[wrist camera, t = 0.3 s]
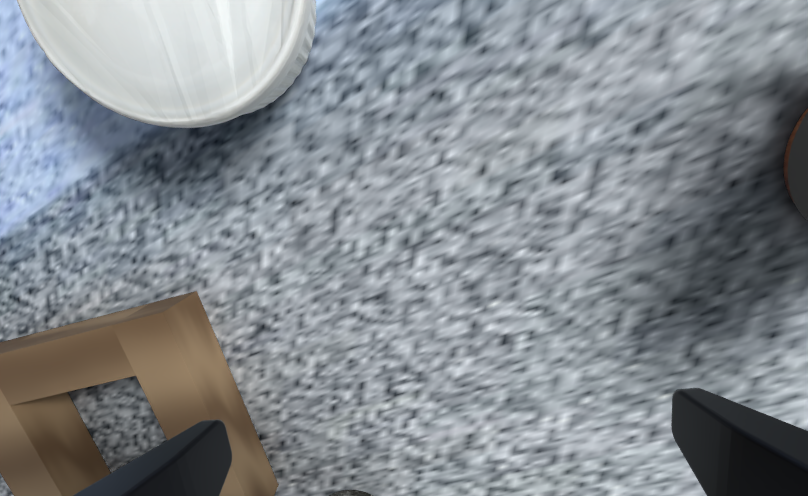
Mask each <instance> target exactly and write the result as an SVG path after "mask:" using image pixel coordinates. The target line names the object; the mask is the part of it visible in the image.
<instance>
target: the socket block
mask: <svg viewBox="0 0 808 496" xmlns="http://www.w3.org/2000/svg"><path fill="white" fill-rule="evenodd" d="M132 376H136V377H137V379H138V381H139V383H140V385H141V387H142V389H143V391H144V393H145V395H146V397H147V399H148V401H149V403H150V405H151V408H152V410H153V412H154V414H155V416H156V418H157V420H158V422H159V424H160V426H161V428H162V430H163V432H164V434H165V436H166V438H167V440H169V439H171V438H173V437H174V436H176V435H178V434H180V433H181V432H183V431H185V430H186V429H188V428H190V427H192V426H193V425H195V424H197V423H198V422H200V421H203V420H217V419H219V420H222V421H223V422H224V424H225V426H226V430H227V434H228V438H229V442H230V446H231V450H232V463H231V466H230V469H229V472H228V474H227V477H226V480H225V482H224V485H223V487H222V490H221V493H220V495H219V496H274V494H275V492H276V490H277V487H278V483H277V480H276V478H275V476H274V473H273V471H272V468H271V466H270V464H269V461H268V459H267V457H266V454H265V452H264V450H263V447H262V445H261V442H260V440H259V438H258V435H257V433H256V431H255V428H254V426H253V424H252V421H251V419H250V416H249V414H248V412H247V409H246V407H245V405H244V402H243V400H242V398H241V395H240V393H239V390H238V388H237V386H236V383H235V381H234V379H233V376H232V374H231V372H230V369H229V367H228V364H227V362H226V360H225V357H224V355H223V353H222V350H221V348H220V346H219V343H218V341H217V338H216V336H215V334H214V331H213V329H212V327H211V324H210V322H209V320H208V317H207V315H206V312H205V310H204V308H203V305H202V303H201V301H200V298H199V296H198V294H197V291H196V292H192V293H188V294H184V295H180V296H176V297H173V298H169V299H165V300H161V301H157V302H154V303H150V304H146V305H142V306H138V307H134V308H131V309H127V310H123V311H119V312H115V313H111V314H108V315H104V316H100V317H96V318H92V319H88V320H85V321H81V322H77V323H73V324H69V325H65V326H62V327H58V328H54V329H50V330H46V331H43V332H39V333H35V334H31V335H27V336H23V337H20V338H16V339H12V340H8V341H4V342H0V473H1V475H2V477H3V478H4V480H5V482H6V483H7V485H8V486H9V488H10V490H11V491H12V493H13V495H14V496H73V495H74V494H76V493H78V492H80V491H81V490H83V489H85V488H87V487H88V486H90V485H92V484H93V483H95V482H97V481H99V480H100V479H102V478H104V477H105V476H107V475H109V474H111V473H110V471H109V469H108V467H107V465H106V463H105V462H104V460H103V458H102V456H101V454H100V452H99V450H98V448H97V447H96V445H95V443H94V441H93V439H92V437H91V435H90V434H89V432H88V430H87V428H86V426H85V424H84V422H83V420H82V419H81V417H80V415H79V413H78V411H77V409H76V407H75V406H74V404H73V402H72V400H71V398H70V396H69V394H68V392H69V391H73V390H77V389H82V388H86V387H90V386H94V385H98V384H103V383H107V382H111V381H115V380H120V379H124V378H128V377H132Z"/></svg>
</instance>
